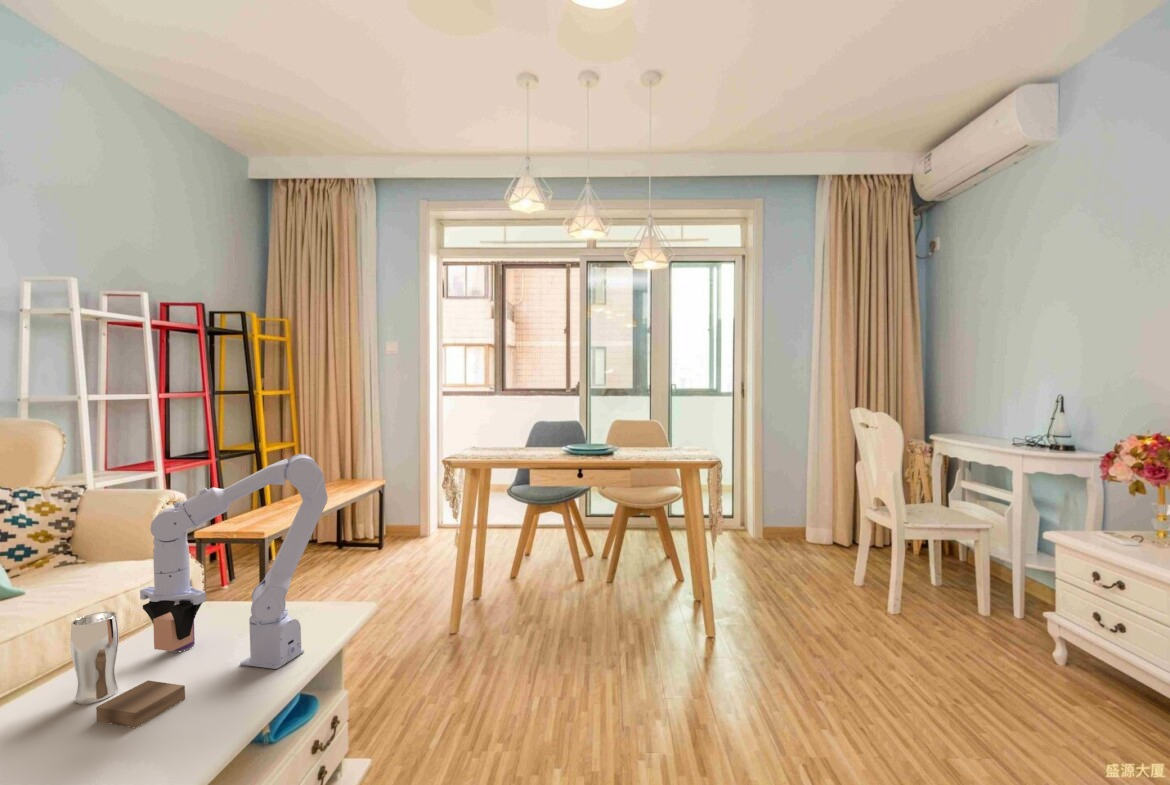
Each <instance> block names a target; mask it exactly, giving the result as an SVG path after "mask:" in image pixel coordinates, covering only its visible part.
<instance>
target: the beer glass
mask: <svg viewBox="0 0 1170 785" xmlns="http://www.w3.org/2000/svg"><path fill="white" fill-rule="evenodd" d="M70 627H71V628H70V638H69V640H70V641H69V643H70V645H69V646H70V648H69V649H70V655H71V659H72V664H73V667H74V671H75V674H76V678H77V691H76V695H75V703H76V704H77V705H83V706H84V705H91V704H95V703H98V702H102V701H104V700H106V699H109V698H110V697H112V696H114V695H115V694H116V693H117V692H118V690H119V687H118V684H117V680H116V674H115V670H116V667H115V666H116V661H117V656H118V651H119V642H120V632H119V631H120V630H119V623H118V614H117V612H116V611H112V610H111V611H109V610H108V611H99V612H94V613H89V614H86V615H84V616H81V617H78V618H76V619H74V620H73V621H72V622H71V623H70Z"/></svg>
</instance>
